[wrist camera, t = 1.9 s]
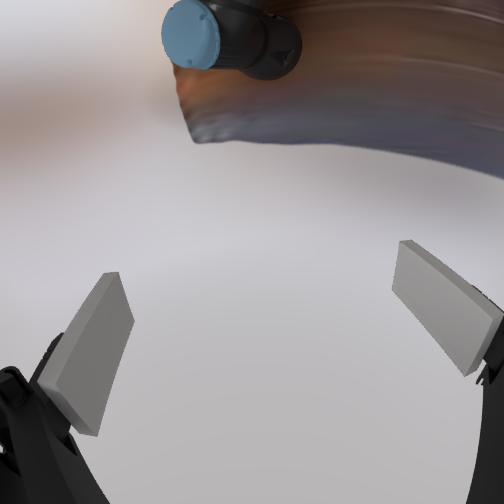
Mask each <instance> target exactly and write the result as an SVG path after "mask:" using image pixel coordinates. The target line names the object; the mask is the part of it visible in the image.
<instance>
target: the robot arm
mask: <svg viewBox="0 0 504 504" xmlns="http://www.w3.org/2000/svg"><path fill="white" fill-rule="evenodd" d="M269 1H270V0H181V1H179V2H177V3H175V4H174V5H173V7H171V8H170V9H169V10H168V12H167V14H166V16H165V18H164V21H163V25H162V32H161V35H162V43H163V45H164V49H165V52H166V54H167V56H168V57H169V58H170V60H171V61H172V62H174V63H175V64H177V65H179V66H181V67H185V68H196V69H237V70H239V71H241V72H243V73H244V74H246V75H248V76H249V77H252V78H255V79H261V80H273V79H277V78H280V77H282V76H284V75H286V74H287V73H288V72H290V71H291V70H292V69H293V67H294V66H295V65H296V63H297V61H298V59H299V57H300V54H301V49H302V41H301V36H300V33H299V31H298V29H297V28H296V26H295V25H294V24H293V23H292V22H291V21H289V20H288V19H286V18H284V17H282V16H279V15H277V14H272V13H263V11H264V10H265V8H266V6H267V4H268V3H269ZM392 291H393V292H394V293H395V294H396V295H397V296H398V297H399V299H400V300H401V301H402V302H403V303H404V304H405V305H406V306H407V308H408V309H409V310H410V311H411V312H412V313H413V314H414V315H415V317H416V318H417V319H418V320H419V321H420V322H421V324H422V325H423V326H424V327H425V328H426V329H427V331H428V332H429V333H430V334H431V335H432V337H433V338H434V339H435V340H436V341H437V343H438V344H439V345H440V346H441V347H442V349H443V350H444V351H445V352H446V354H447V355H448V356H449V357H450V359H451V360H452V361H453V363H454V364H455V365H456V366H457V368H458V369H459V370H460V372H461V373H462V374H463V376H464V377H465V376H467V375H469V374H471V373H473V372H475V371H476V370H477V368H478V367H479V365H480V363H481V361H482V359H484V360H485V362H486V363H487V364H486V365H485V367H484V369H483V370H482V372H481V374H480V375H479V377H478V379H477V381H476V384H478V383H479V382H480V380H481V379H482V378H483V382H482V384H481V385H483V408H482V422H481V431H480V439H479V446H478V453H477V458H476V464H475V469H474V474H473V478H472V483H471V487H470V491H469V494H468V498H467V502H466V504H504V311H503V310H501V309H500V308H499V307H498V306H497V305H496V304H495V303H493V302H492V301H491V300H490V299H488V297H487V296H485V295H484V294H482V292H481V291H480V290H478V289H477V288H476V287H475V286H473V285H471V284H469V283H468V282H467V281H466V280H464V279H463V278H462V277H461V276H459V275H458V274H457V273H455V272H454V271H453V270H452V269H450V268H449V267H448V266H447V265H445V264H444V263H442V262H441V261H440V260H439V259H437V258H436V257H435V256H433V255H432V254H430V253H429V252H428V251H426V250H425V249H424V248H422V247H421V246H419V245H418V244H417V243H415V242H414V241H412V240H407V241H400V242H399V249H398V256H397V262H396V268H395V275H394V280H393V285H392ZM133 324H134V318H133V315H132V312H131V310H130V307H129V304H128V301H127V298H126V295H125V292H124V289H123V285H122V282H121V279H120V276H119V272H110V273H104V274H103V275H102V277H101V278H100V279H99V281H98V282H97V284H96V285H95V286H94V288H93V289H92V291H91V292H90V294H89V295H88V297H87V298H86V300H85V301H84V303H83V304H82V306H81V307H80V309H79V310H78V312H77V313H76V315H75V317H74V318H73V320H72V321H71V323H70V325H69V326H68V328H67V330H66V331H65V333H60V334H59V335H58V336H57V337H56V338H55V339H54V340H53V341H52V342H51V344H50V346H49V347H48V349H47V352H46V353H45V354H44V356H43V359H41V361H40V363H39V365H38V366H37V368H36V370H35V372H34V374H33V375H32V377H31V379H30V381H29V383H28V382H27V381H26V379H25V378H24V376H23V375H22V374H21V372H20V371H19V369H18V368H16V367H14V366H9V367H5V368H3V369H2V370H0V445H1V446H2V447H3V452H2V453H1V452H0V504H110V503H109V501H108V500H107V498H106V497H105V495H104V494H103V492H102V490H101V489H100V487H99V485H98V484H97V482H96V480H95V479H94V477H93V475H92V473H91V472H90V470H89V468H88V466H87V464H86V462H85V461H84V459H83V457H82V455H81V453H80V451H79V449H78V447H77V444H76V442H75V440H74V438H73V436H72V435H71V434H70V433H69V429H70V426H71V425H72V426H73V427H74V428H75V429H76V430H77V431H78V432H79V434H85V435H91V436H96V437H97V436H98V432H99V429H100V425H101V421H102V418H103V414H104V411H105V407H106V404H107V400H108V397H109V394H110V391H111V387H112V384H113V381H114V378H115V375H116V372H117V369H118V366H119V363H120V360H121V357H122V354H123V352H124V349H125V346H126V343H127V340H128V338H129V335H130V332H131V330H132V327H133Z"/></svg>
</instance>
